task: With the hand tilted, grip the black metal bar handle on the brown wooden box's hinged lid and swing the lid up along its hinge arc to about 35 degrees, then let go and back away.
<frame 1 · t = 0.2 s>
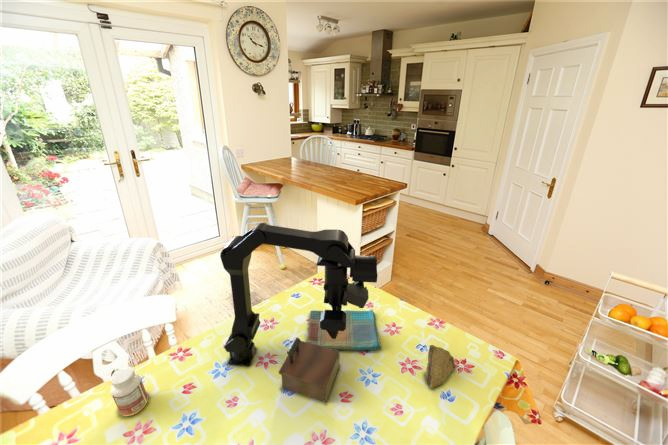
hand: (335, 325, 80), 15 cm above the table, tool pointing down, fingers open, 9 cm apart
pill bottle: (134, 405, 74), on the table
lid: (310, 355, 79), point 8 cm above the table, hinge at 0.0°
brown wooden box: (311, 376, 82), on the table
rock: (441, 375, 83), on the table
dish towel: (343, 331, 98), on the table
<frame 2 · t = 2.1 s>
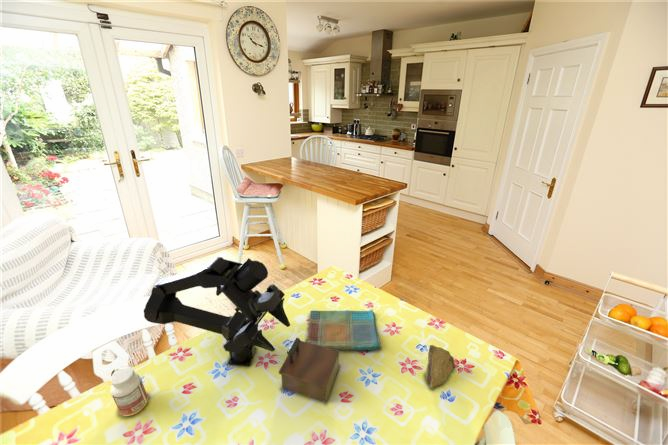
hand: (281, 337, 80), 12 cm above the table, tool tilted 45°, fingers open, 9 cm apart
nothing on the table moved.
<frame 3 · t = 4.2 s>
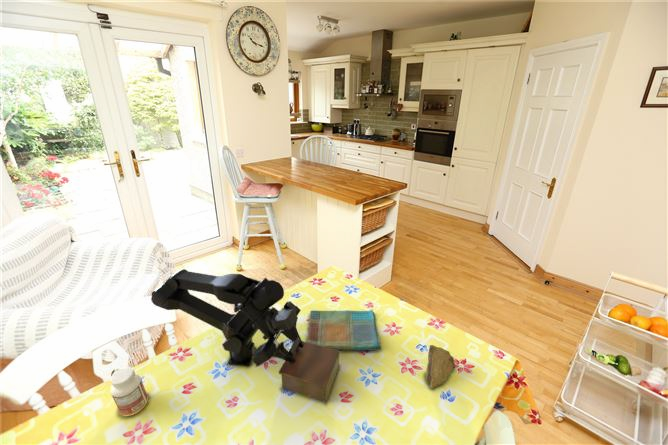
hand: (298, 354, 80), 7 cm above the table, tool tilted 45°, fingers closed on lid, 5 cm apart
lid: (310, 355, 79), point 8 cm above the table, hinge at 0.0°, touching gripper
everything else where it was.
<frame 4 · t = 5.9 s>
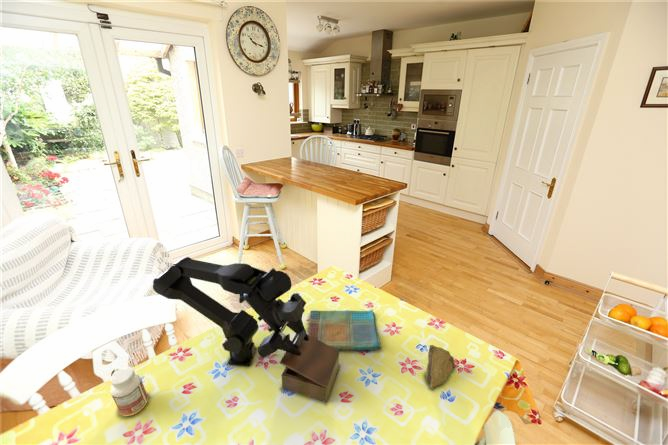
hand: (304, 347, 78), 11 cm above the table, tool tilted 45°, fingers closed on lid, 5 cm apart
lid: (313, 351, 78), point 10 cm above the table, hinge at 17.9°, touching gripper
everything else where it was.
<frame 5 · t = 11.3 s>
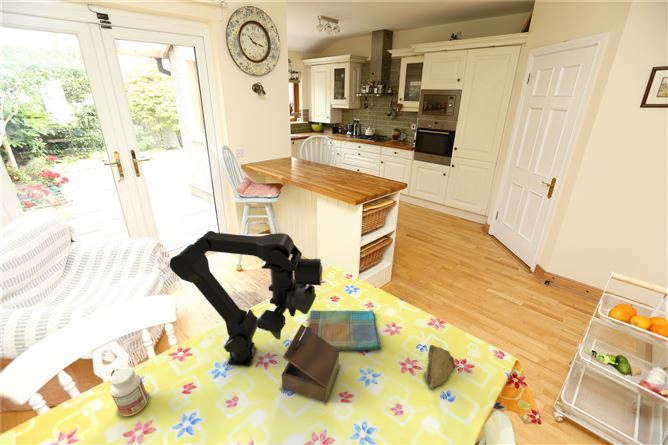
hand: (285, 326, 82), 13 cm above the table, tool pointing down, fingers open, 9 cm apart
lid: (316, 349, 77), point 11 cm above the table, hinge at 29.4°
everything else where it was.
at the end: lid at +29° (first picture: +0°) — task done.
